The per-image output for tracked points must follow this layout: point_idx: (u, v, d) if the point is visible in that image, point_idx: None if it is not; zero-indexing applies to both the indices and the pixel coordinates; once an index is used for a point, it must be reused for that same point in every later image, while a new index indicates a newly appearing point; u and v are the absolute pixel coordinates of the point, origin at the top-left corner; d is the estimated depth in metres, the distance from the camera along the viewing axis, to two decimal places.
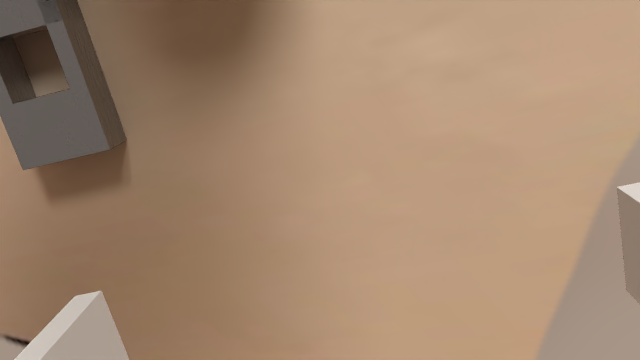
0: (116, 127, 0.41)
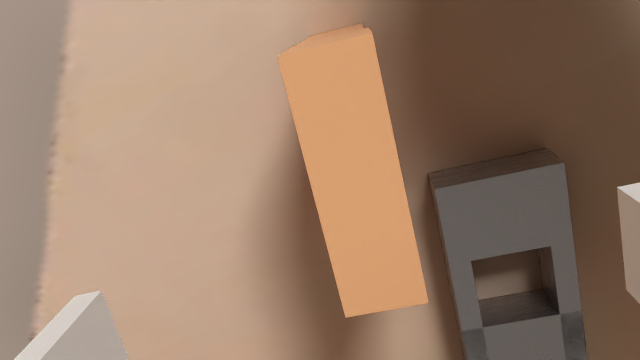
0: None
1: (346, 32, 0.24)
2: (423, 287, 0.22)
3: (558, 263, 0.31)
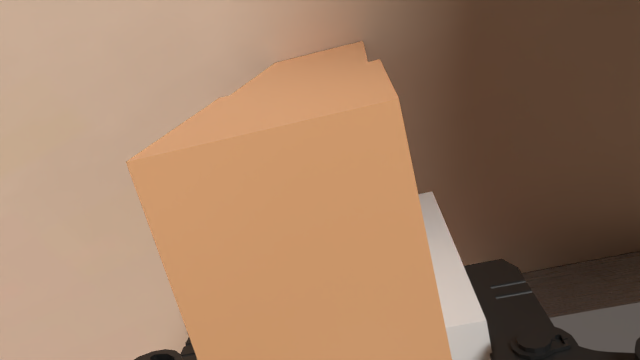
0: None
1: (332, 69, 0.12)
2: None
3: None
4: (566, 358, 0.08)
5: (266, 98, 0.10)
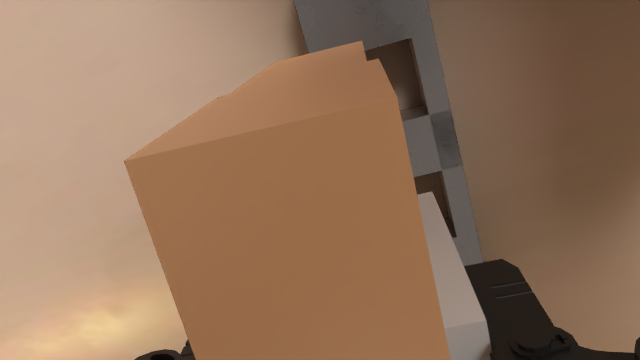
0: None
1: (331, 68, 0.12)
2: None
3: (421, 56, 0.30)
4: (566, 358, 0.08)
5: (265, 97, 0.10)
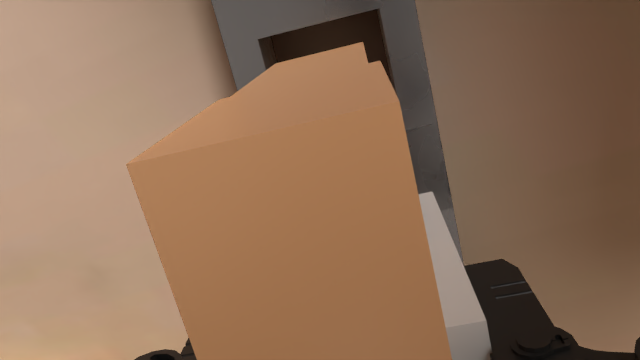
0: None
1: (332, 70, 0.12)
2: None
3: (393, 39, 0.20)
4: (566, 358, 0.08)
5: (266, 100, 0.10)
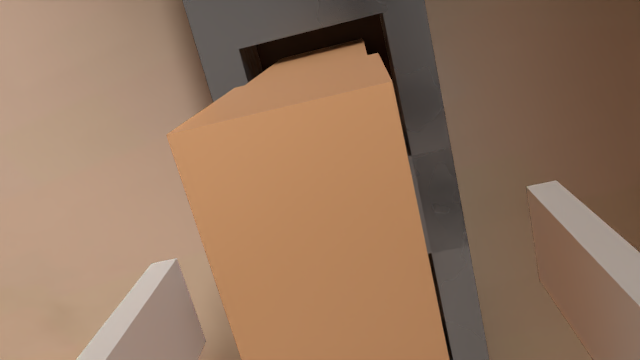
0: None
1: (335, 61, 0.13)
2: None
3: (399, 49, 0.16)
4: None
5: (278, 86, 0.11)
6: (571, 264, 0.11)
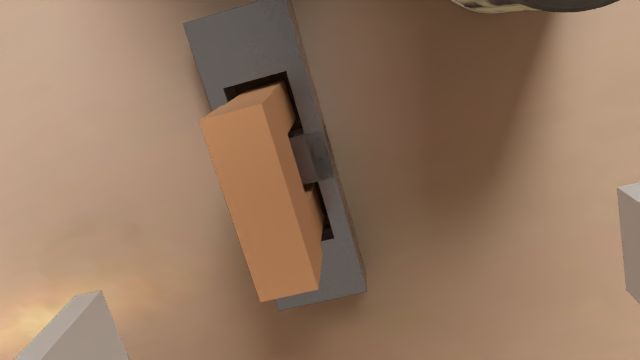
0: (362, 265, 0.43)
1: (259, 94, 0.33)
2: (313, 278, 0.31)
3: (295, 86, 0.37)
4: None
5: (234, 105, 0.31)
6: None
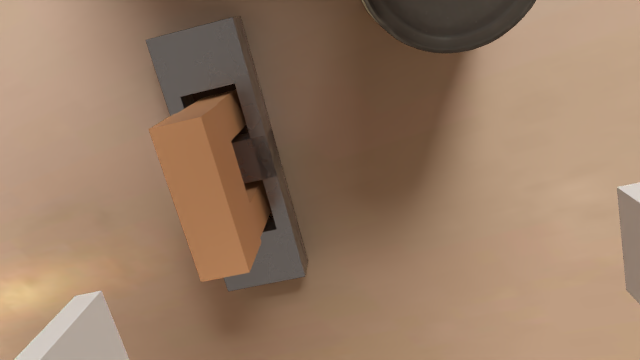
0: (303, 253, 0.49)
1: (207, 105, 0.39)
2: (245, 263, 0.37)
3: (242, 97, 0.42)
4: None
5: (183, 115, 0.37)
6: None
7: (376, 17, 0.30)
